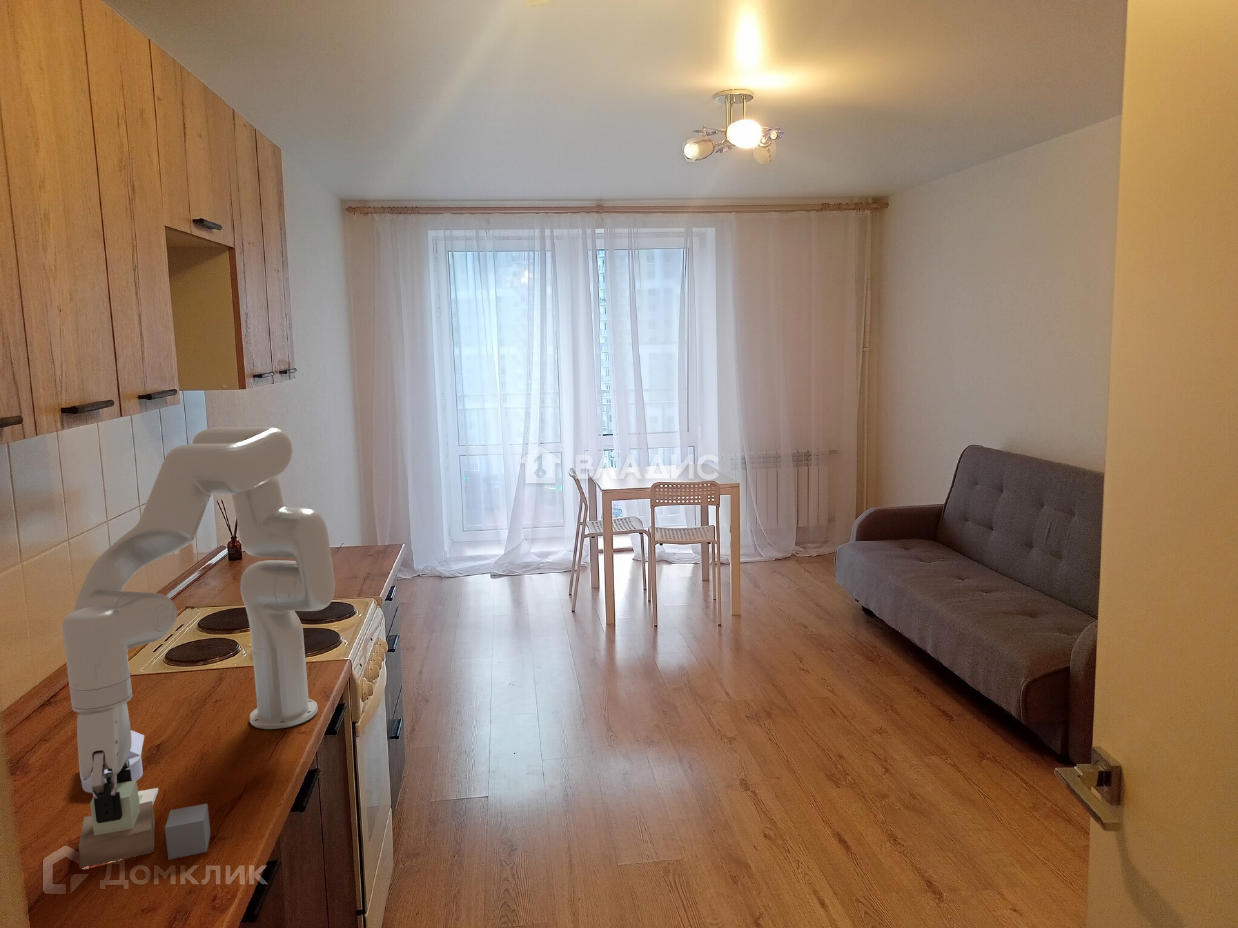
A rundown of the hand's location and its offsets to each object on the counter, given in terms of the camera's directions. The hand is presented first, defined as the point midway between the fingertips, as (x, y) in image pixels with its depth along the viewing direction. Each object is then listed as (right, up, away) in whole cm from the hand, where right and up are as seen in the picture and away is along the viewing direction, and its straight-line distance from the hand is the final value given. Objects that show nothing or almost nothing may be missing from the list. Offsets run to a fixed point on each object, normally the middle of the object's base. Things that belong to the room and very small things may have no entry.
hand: (115, 806), depth 126 cm
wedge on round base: (-13, -4, +23) cm, 26 cm away
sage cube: (0, -3, 0) cm, 3 cm away
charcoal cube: (+11, -6, 0) cm, 12 cm away
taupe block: (0, -6, +1) cm, 7 cm away
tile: (-5, -5, +12) cm, 14 cm away
